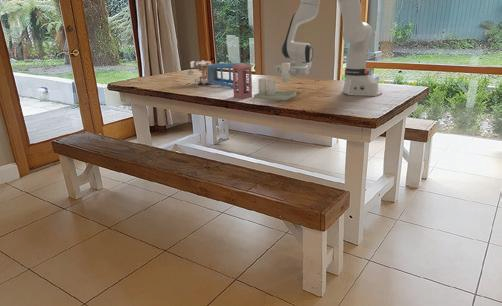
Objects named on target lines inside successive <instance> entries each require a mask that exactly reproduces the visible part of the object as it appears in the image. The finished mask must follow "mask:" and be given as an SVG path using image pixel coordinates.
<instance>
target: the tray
mask: <svg viewBox="0 0 502 306" xmlns="http://www.w3.org/2000/svg"><path fill="white" fill-rule="evenodd" d="M294 97H297V92H295V91H279V90H275V96H265V95H259V92H257V93H256V94H253V98H254V99H266V100H278V101H288V100H290V99H292V98H294Z"/></svg>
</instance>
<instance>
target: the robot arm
mask: <svg viewBox="0 0 502 306" xmlns="http://www.w3.org/2000/svg"><path fill="white" fill-rule="evenodd" d="M337 1H338V6H339V9H340V12H341V13H340V14H341V17H342V18H341V19H342V35H341V36H342V39H343V40H344V42H345V43H347V44H349V46H348V51H347V53H346V61H345V64H346V65H345V67H344V69H345V70H344V84H343V87H342V88H343V89H342V91H341V92H342V94H347V96H364V97H365V96H366V97H367V96H369V97H376V96H380V95H382V94H383V90H382V89H379V84H378V81H377V80H376V79H375V78H373V77H372V76H371V75H370V69H369V68H367V56H368V49H369V45H370V41H371V38H372V35H373V28H372V26H371V24H369V23H367V22H364V21H363V19H362V12H363V7H362V3H361V1H360V0H337ZM320 5H321V0H300V3H299V8H298V9H297V11H296V12H295V13H293V15H292V16H291V20H290V23H289V26H288V29H287V32H286V36H285V39H284V42H283V44H282V46H281V53H282V55H283V56H284V58H285V59H295V60H290V62H289V63H290V70H289V73H290V76H293V77H297V76H303V75H309V74H310V69H311V67H312V64H313V63H312V60H313V57H314V49H313V47H312V45H311V44H310V43H307V42H300V41H294V40H295V37H296V33H297V29H298V28H299V26H301V25H303V24H305V23H308V22H310V21H311V22H312V20H314V19H316V17H317V16H318V13H319V10H320ZM273 73H277V74H278V73H279V74H282V64H278V65H274V66H273Z"/></svg>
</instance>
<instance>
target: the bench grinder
mask: <svg viewBox="0 0 502 306" xmlns="http://www.w3.org/2000/svg"><path fill="white" fill-rule="evenodd" d="M189 63H190V68H195V67H196V66H198V68H199V69H198V70H197V72H201V76H199V77H198V78H196V77H194V84H195V85H197V86H198V85H199V84H203V85H206V84H213V85H217V86H220V87H221V86H223V87H226V88H232V89H233V79H232V70H233V68H231V67H232V66H233V65H235V64H240V63H241V62H228V63H227V62H226V63H212V60H211V61H210V60H202V59H201V61H199V60H198V61H195V60H192V61H190V62H189ZM243 63H244V64H248V65H250V62H243ZM205 66H206V67H205ZM218 69H219V70H220V78H219V75H218ZM224 69H228V79H226V78H224V77H223V75H224V74H223V70H224ZM194 72H196V70H193V69H190V70H188V71H187V74H188V75H192V74H194ZM247 83H248V84H247V85H249V82H247ZM237 85H238V82H237ZM236 90H238V87H237V88H236Z"/></svg>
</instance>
